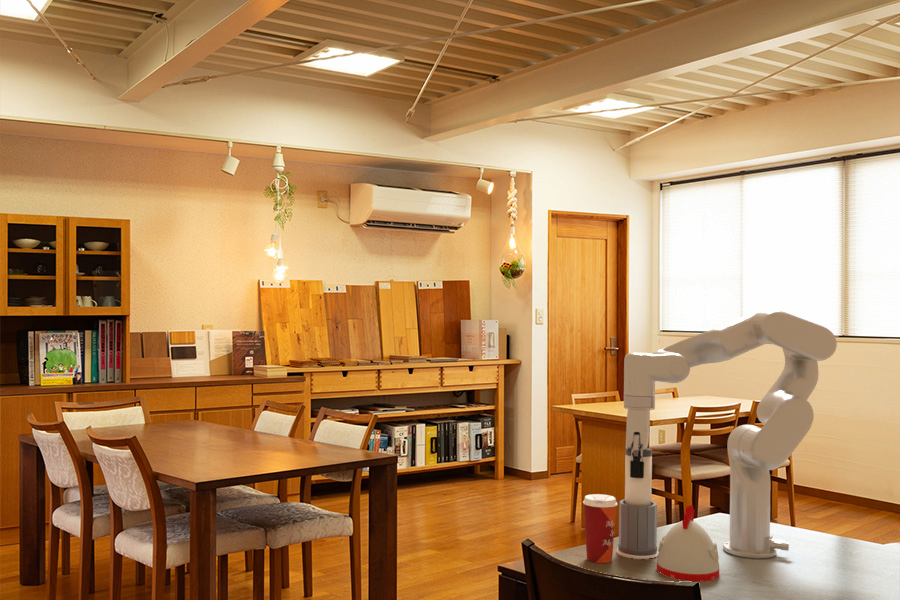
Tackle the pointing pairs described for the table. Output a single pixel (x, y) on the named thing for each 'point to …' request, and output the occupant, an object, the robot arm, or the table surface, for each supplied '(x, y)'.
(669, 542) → the kitchen timer
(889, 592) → the table surface
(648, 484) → the plunger
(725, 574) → the table surface
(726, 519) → the table surface
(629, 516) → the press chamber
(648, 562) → the table surface
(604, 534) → the coffee cup
